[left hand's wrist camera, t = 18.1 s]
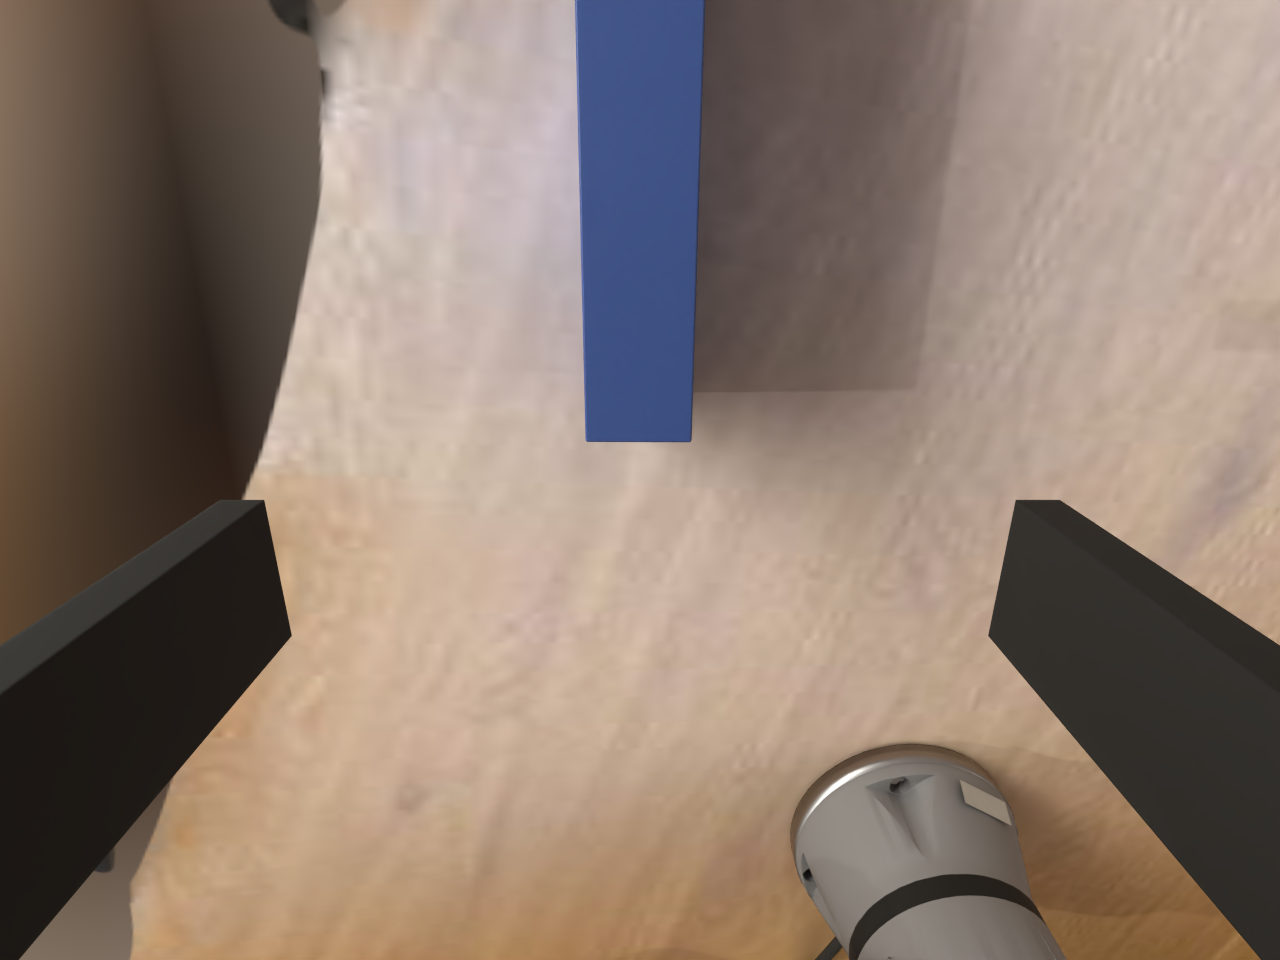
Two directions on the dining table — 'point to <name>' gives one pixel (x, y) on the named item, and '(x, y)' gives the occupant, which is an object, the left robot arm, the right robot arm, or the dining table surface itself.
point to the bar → (639, 213)
